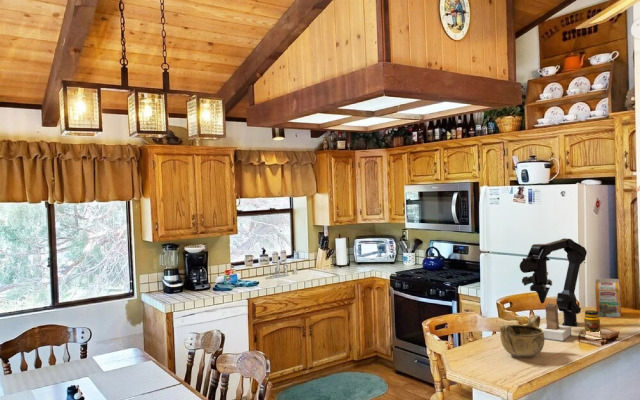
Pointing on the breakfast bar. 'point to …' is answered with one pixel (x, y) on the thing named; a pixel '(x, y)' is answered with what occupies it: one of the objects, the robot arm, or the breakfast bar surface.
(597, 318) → the condiment
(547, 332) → the socket block
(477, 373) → the breakfast bar surface
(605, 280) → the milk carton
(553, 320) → the peg
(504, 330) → the ceramic bowl
